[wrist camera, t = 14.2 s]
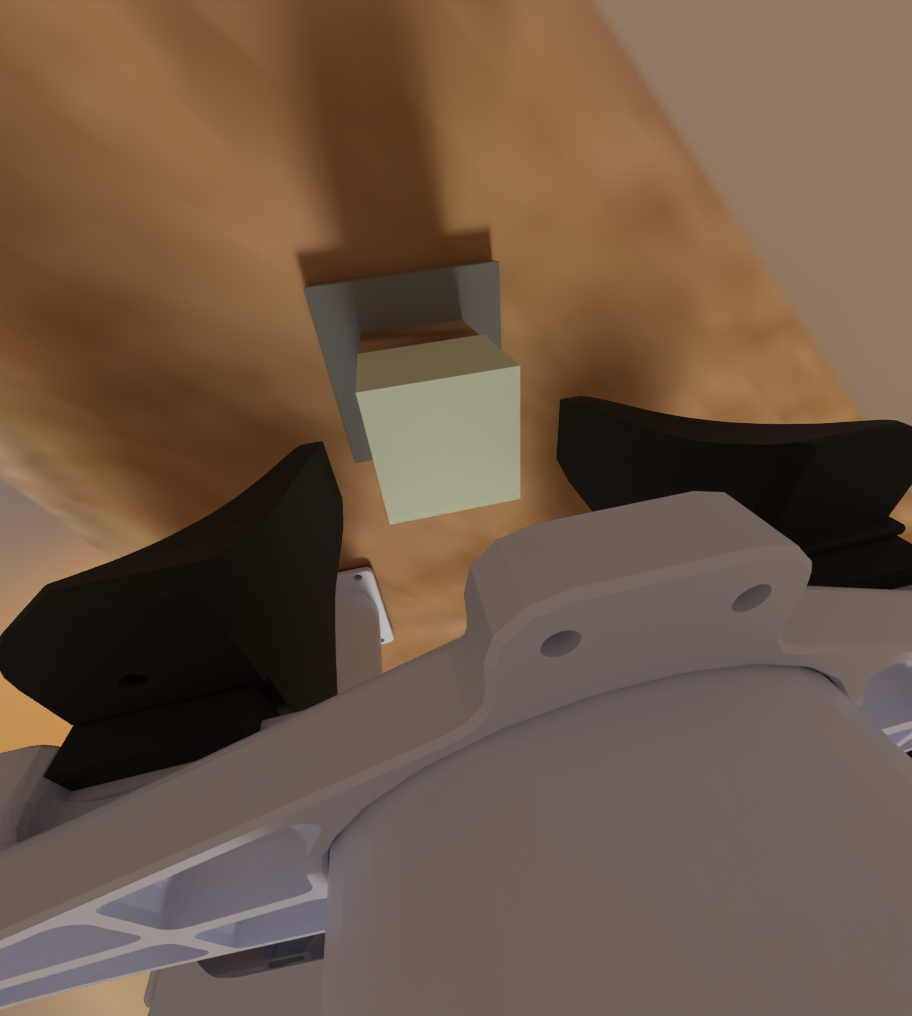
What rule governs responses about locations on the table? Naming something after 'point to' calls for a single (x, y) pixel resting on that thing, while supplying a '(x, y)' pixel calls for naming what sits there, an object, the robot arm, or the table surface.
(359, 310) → the slate board
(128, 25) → the table surface
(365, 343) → the walnut block
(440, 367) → the sage cube
